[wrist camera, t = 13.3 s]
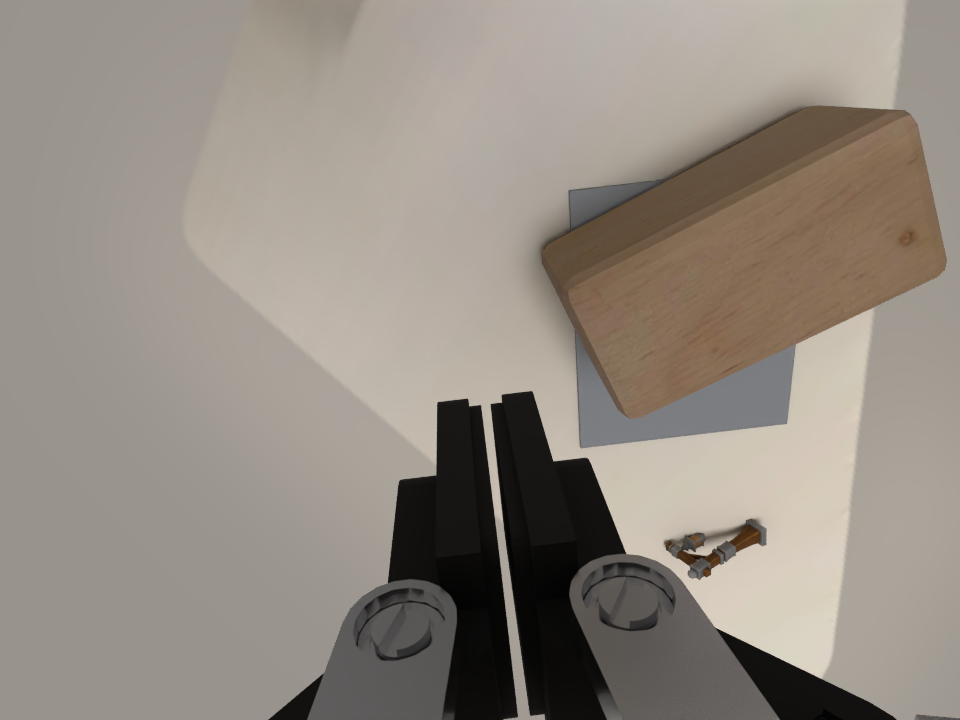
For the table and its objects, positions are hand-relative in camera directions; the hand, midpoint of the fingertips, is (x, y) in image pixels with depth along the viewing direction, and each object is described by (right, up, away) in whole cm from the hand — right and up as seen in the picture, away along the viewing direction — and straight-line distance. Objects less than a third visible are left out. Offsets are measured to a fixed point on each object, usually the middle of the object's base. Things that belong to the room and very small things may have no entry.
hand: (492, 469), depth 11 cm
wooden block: (+6, +4, +29) cm, 30 cm away
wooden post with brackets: (+20, -13, +44) cm, 50 cm away
